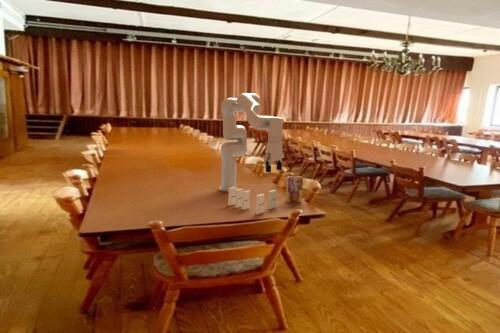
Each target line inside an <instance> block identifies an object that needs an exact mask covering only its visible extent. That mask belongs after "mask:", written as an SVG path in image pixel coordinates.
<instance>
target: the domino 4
mask: <svg viewBox="0 0 500 333" xmlns="http://www.w3.org/2000/svg"><path fill="white" fill-rule="evenodd" d="M264 212H265V194H264V193H260V194H257V195H255V214H256V215H259V214H263V213H264Z"/></svg>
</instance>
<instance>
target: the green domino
mask: <svg viewBox="0 0 500 333" xmlns="http://www.w3.org/2000/svg"><path fill="white" fill-rule="evenodd" d="M277 192H278V191H277V190H276V189H273V190H269V191H268V205H267V206H268V207H267V208H268V210H272V209H275V208H276V207H277V196H278V193H277Z"/></svg>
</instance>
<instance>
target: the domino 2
mask: <svg viewBox="0 0 500 333" xmlns="http://www.w3.org/2000/svg"><path fill="white" fill-rule="evenodd" d="M243 191H245V190H244V188H241V187H240V188H238V189H237V190H235V205H234V208H236V209H238V208H241V206H242V192H243Z"/></svg>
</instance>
